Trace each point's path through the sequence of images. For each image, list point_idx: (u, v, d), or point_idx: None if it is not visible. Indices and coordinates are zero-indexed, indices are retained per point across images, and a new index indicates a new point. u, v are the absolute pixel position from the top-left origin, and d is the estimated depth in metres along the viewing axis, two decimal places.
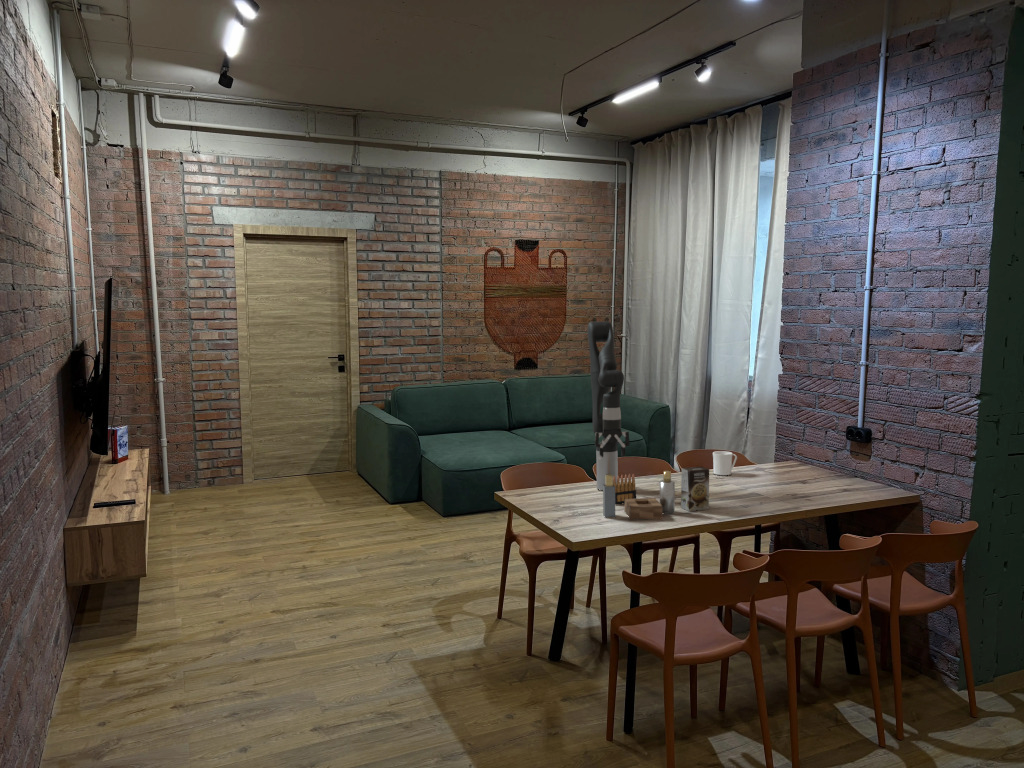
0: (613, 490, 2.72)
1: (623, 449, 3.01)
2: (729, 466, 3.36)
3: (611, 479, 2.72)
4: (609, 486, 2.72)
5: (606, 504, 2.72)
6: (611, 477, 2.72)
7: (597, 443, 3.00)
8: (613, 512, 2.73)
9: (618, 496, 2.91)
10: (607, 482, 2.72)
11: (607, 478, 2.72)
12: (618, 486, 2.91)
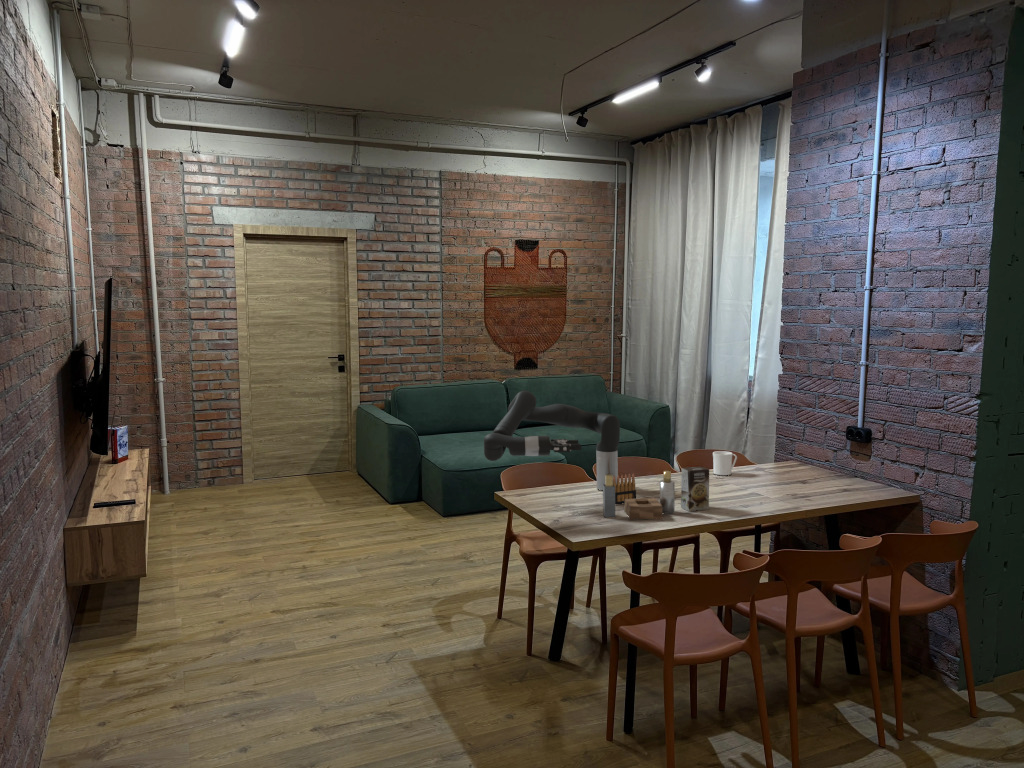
0: (613, 490, 2.72)
1: (570, 440, 2.76)
2: (729, 466, 3.36)
3: (611, 479, 2.72)
4: (609, 486, 2.72)
5: (606, 504, 2.72)
6: (611, 477, 2.72)
7: (566, 445, 2.65)
8: (613, 512, 2.73)
9: (618, 496, 2.91)
10: (607, 482, 2.72)
11: (607, 478, 2.72)
12: (618, 486, 2.91)
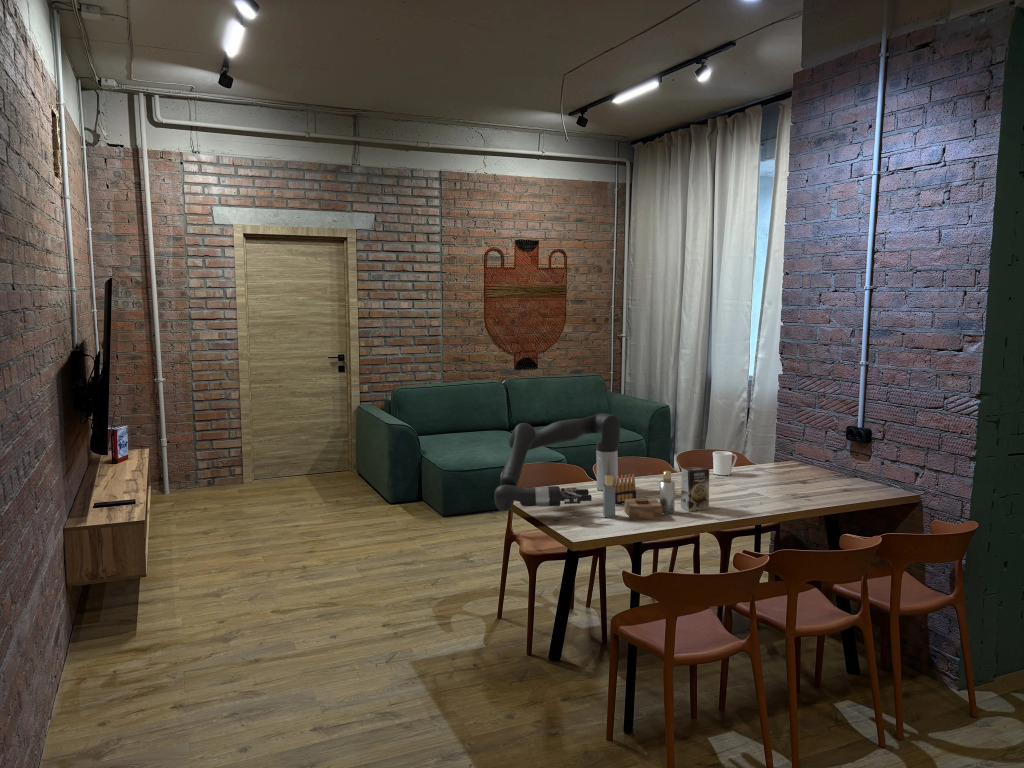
0: (613, 490, 2.72)
1: (580, 489, 2.78)
2: (729, 466, 3.36)
3: (611, 479, 2.72)
4: (609, 486, 2.72)
5: (606, 504, 2.72)
6: (611, 477, 2.72)
7: (576, 496, 2.67)
8: (613, 512, 2.73)
9: (618, 496, 2.91)
10: (607, 482, 2.72)
11: (607, 478, 2.72)
12: (618, 486, 2.91)
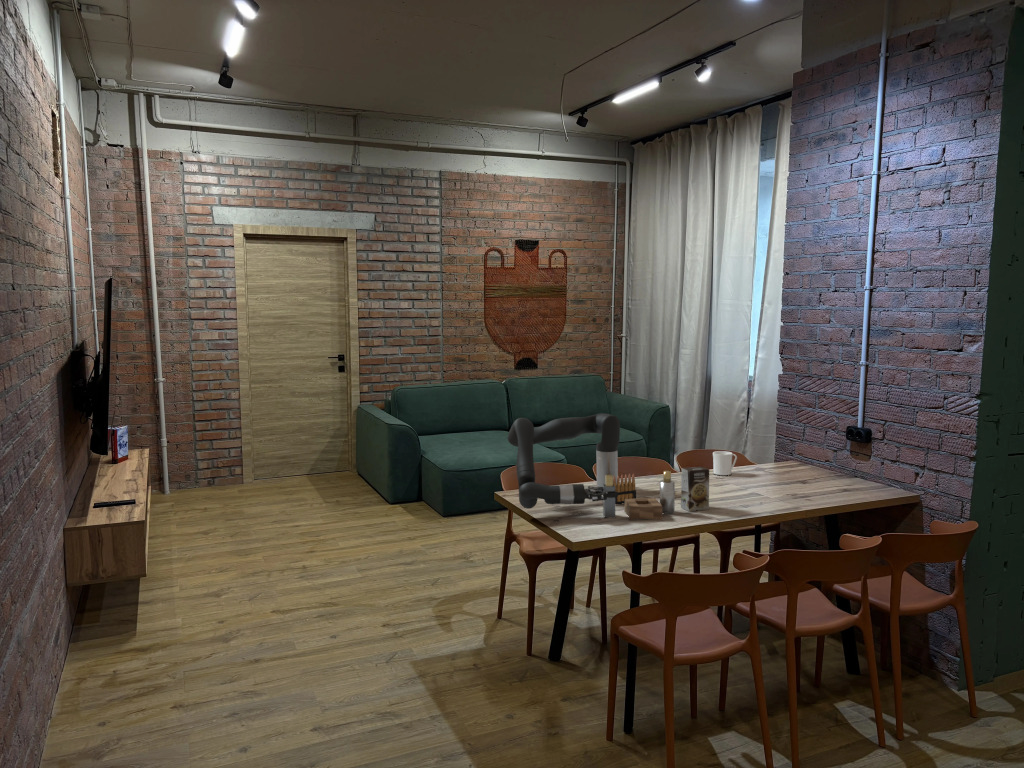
0: (613, 490, 2.72)
1: None
2: (729, 466, 3.36)
3: (611, 479, 2.72)
4: (609, 486, 2.72)
5: (606, 504, 2.72)
6: (611, 477, 2.72)
7: (603, 493, 2.69)
8: (613, 512, 2.73)
9: (618, 496, 2.91)
10: (607, 482, 2.72)
11: (607, 478, 2.72)
12: (618, 486, 2.91)
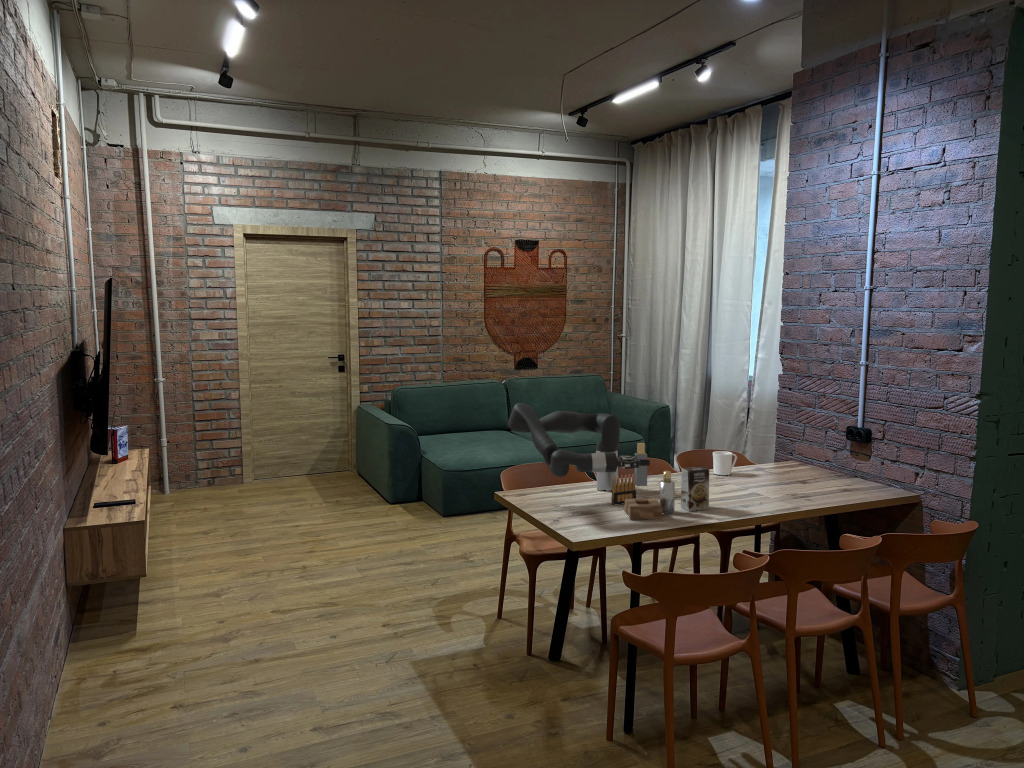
0: (645, 458, 2.71)
1: None
2: (729, 466, 3.36)
3: (643, 447, 2.71)
4: (641, 454, 2.71)
5: (638, 472, 2.71)
6: (643, 445, 2.71)
7: (635, 461, 2.68)
8: (645, 480, 2.72)
9: (618, 496, 2.91)
10: (639, 450, 2.71)
11: (639, 446, 2.71)
12: (618, 486, 2.91)
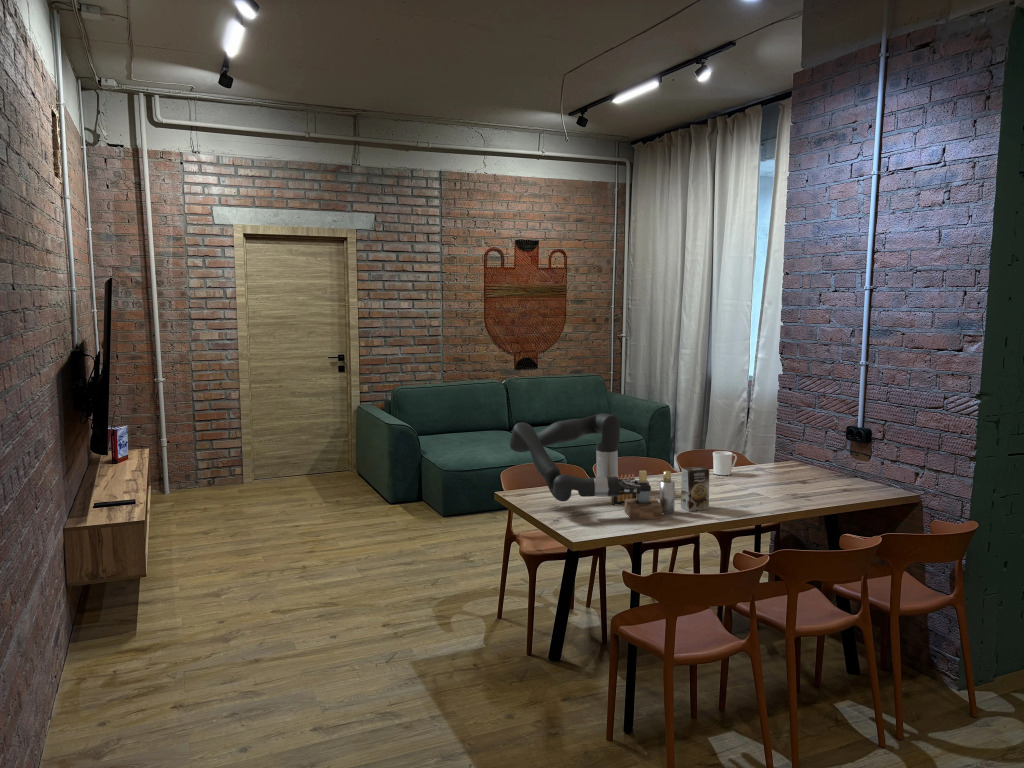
0: None
1: None
2: (729, 466, 3.36)
3: (645, 475, 2.73)
4: (643, 482, 2.72)
5: (640, 500, 2.73)
6: (645, 473, 2.73)
7: (636, 486, 2.68)
8: None
9: (618, 496, 2.91)
10: (641, 478, 2.73)
11: (641, 474, 2.73)
12: None
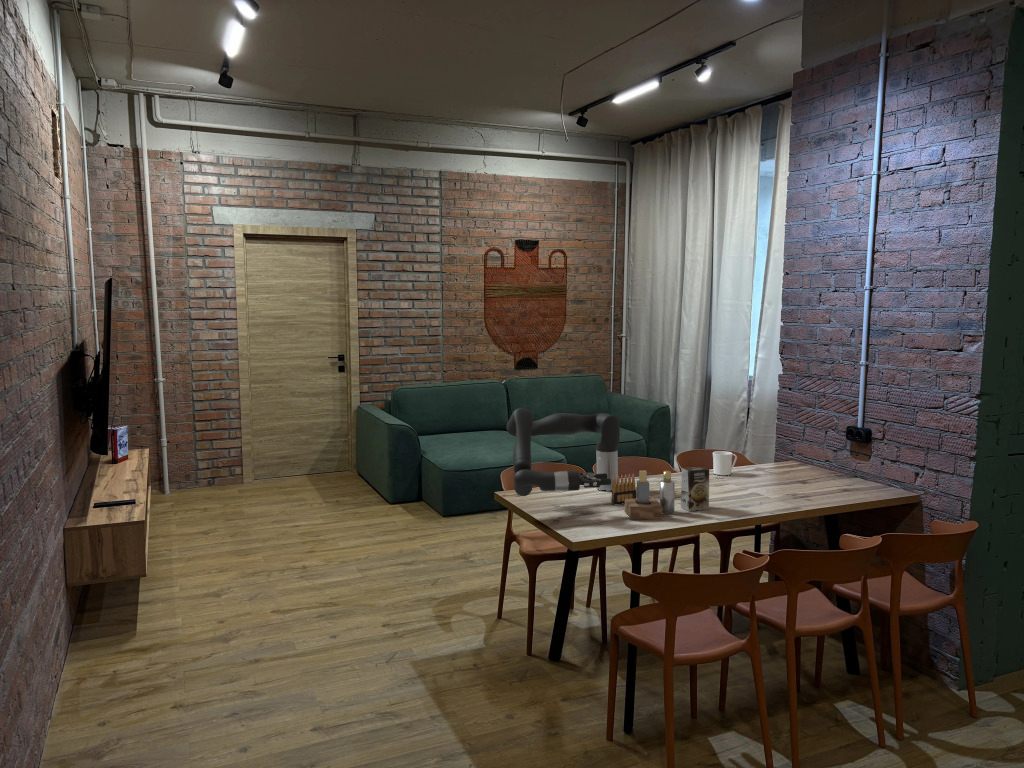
0: (647, 486, 2.72)
1: (599, 473, 2.78)
2: (729, 466, 3.36)
3: (645, 475, 2.73)
4: (643, 482, 2.72)
5: (640, 500, 2.73)
6: (645, 473, 2.73)
7: (595, 480, 2.67)
8: None
9: (618, 496, 2.91)
10: (641, 478, 2.73)
11: (641, 474, 2.73)
12: (618, 486, 2.91)
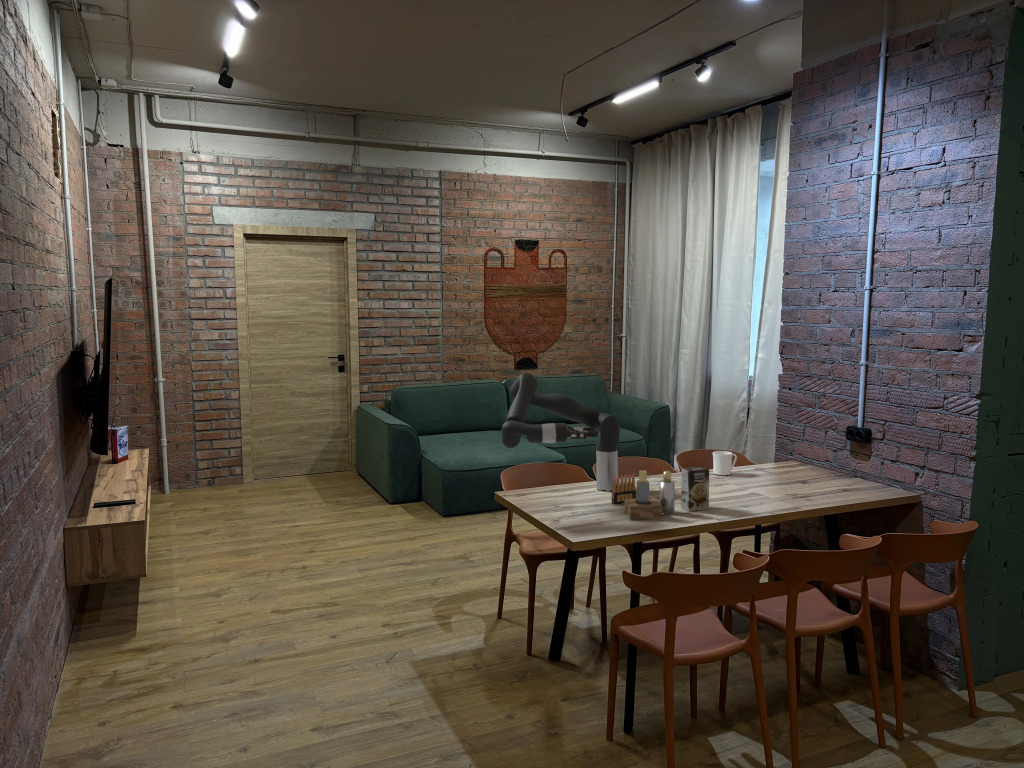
0: (647, 486, 2.72)
1: (586, 427, 2.80)
2: (729, 466, 3.36)
3: (645, 475, 2.73)
4: (643, 482, 2.72)
5: (640, 500, 2.73)
6: (645, 473, 2.73)
7: (583, 432, 2.69)
8: None
9: (618, 496, 2.91)
10: (641, 478, 2.73)
11: (641, 474, 2.73)
12: (618, 486, 2.91)
